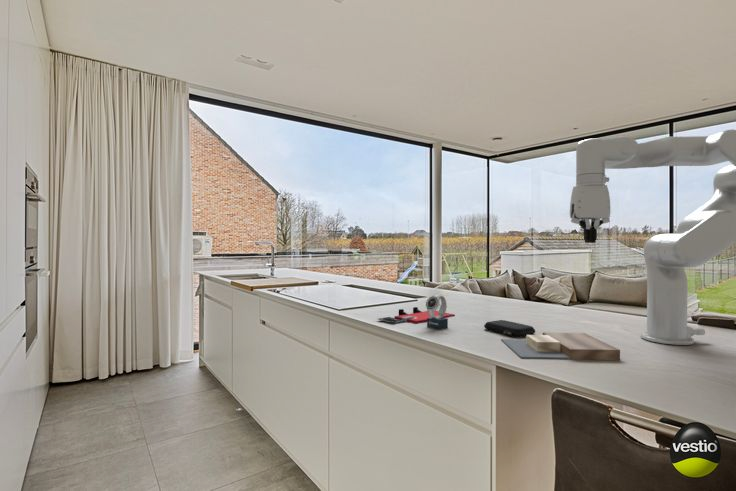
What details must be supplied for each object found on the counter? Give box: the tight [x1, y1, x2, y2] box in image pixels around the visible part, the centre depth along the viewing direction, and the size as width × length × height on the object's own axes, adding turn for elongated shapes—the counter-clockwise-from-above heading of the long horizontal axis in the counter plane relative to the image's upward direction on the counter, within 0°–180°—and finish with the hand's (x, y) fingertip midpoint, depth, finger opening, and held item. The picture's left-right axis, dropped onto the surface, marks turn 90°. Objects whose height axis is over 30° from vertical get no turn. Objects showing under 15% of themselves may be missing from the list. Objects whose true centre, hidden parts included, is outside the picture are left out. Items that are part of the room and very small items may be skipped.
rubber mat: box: [500, 338, 571, 360], centre depth 107 cm, size 12×18×1 cm, turn 176°
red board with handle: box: [378, 306, 456, 325], centre depth 151 cm, size 30×3×15 cm
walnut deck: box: [542, 332, 621, 361], centre depth 106 cm, size 12×18×2 cm, turn 176°
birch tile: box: [525, 334, 560, 352], centre depth 107 cm, size 6×8×2 cm
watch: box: [425, 294, 449, 330], centre depth 134 cm, size 6×8×11 cm
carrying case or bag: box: [483, 319, 536, 338], centre depth 127 cm, size 11×3×15 cm
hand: (590, 242), depth 117 cm, fingers closed
